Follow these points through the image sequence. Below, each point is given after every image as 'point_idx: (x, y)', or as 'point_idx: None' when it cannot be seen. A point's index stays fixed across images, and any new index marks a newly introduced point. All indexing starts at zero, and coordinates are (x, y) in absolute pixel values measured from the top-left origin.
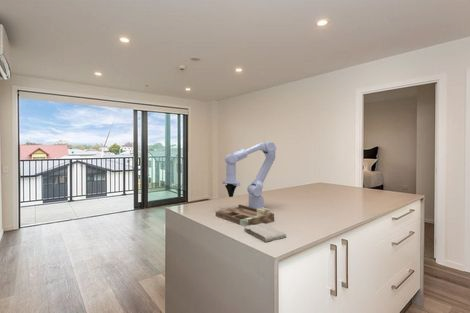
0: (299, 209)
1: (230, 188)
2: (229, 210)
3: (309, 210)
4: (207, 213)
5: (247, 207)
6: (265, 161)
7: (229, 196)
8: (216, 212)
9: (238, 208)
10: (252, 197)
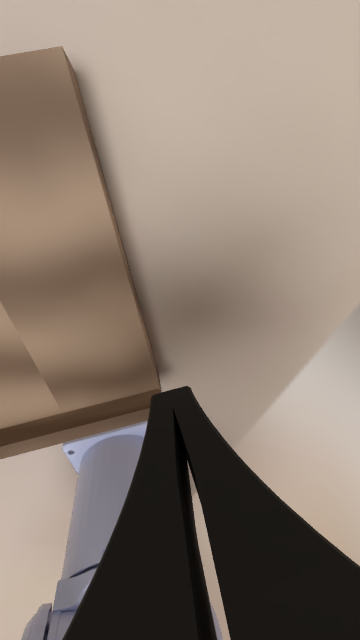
0: (47, 602)
1: (68, 636)
2: (63, 266)
3: (13, 622)
4: (242, 32)
5: (28, 437)
6: None
7: (172, 393)
8: (41, 52)
9: (111, 374)
10: (78, 569)
